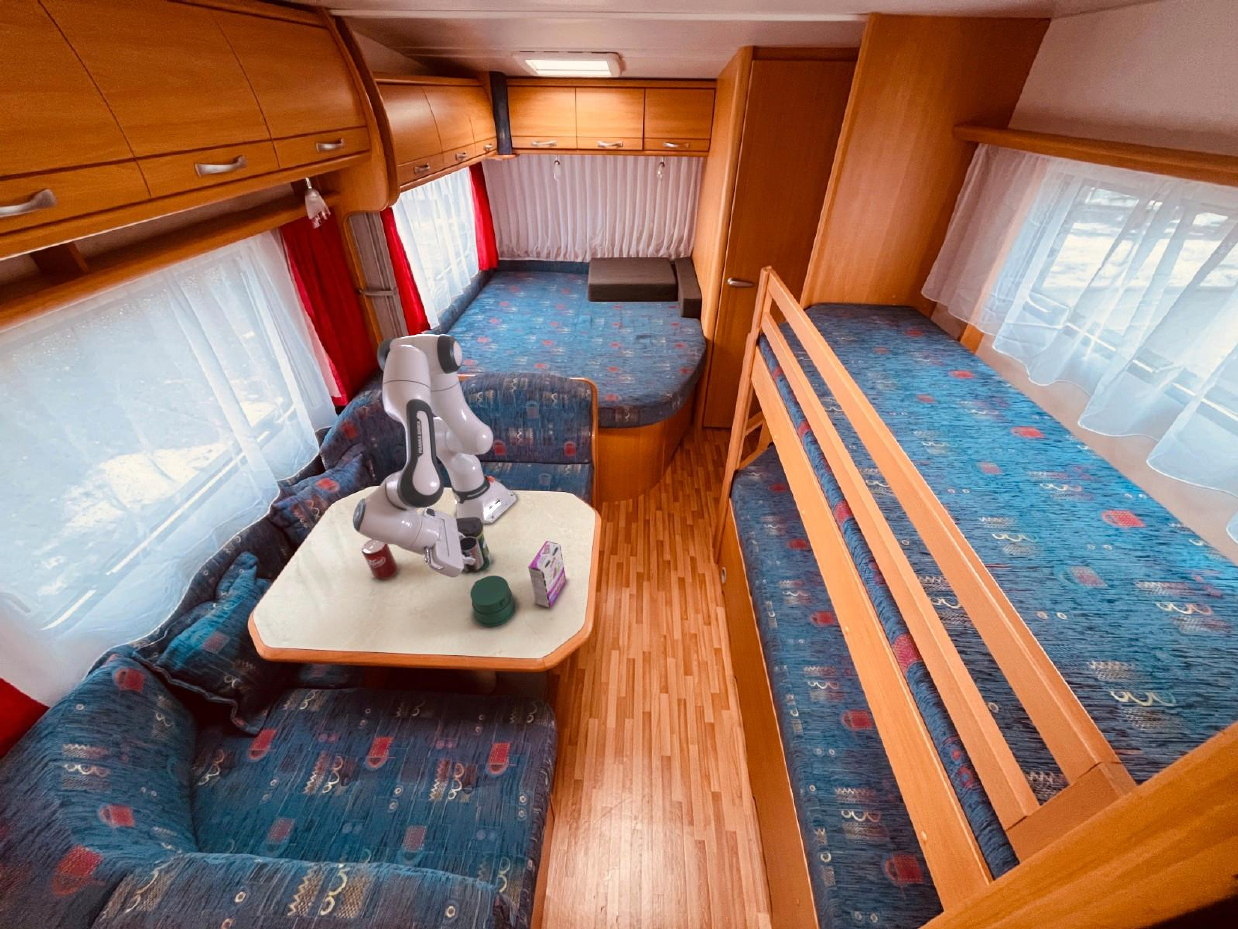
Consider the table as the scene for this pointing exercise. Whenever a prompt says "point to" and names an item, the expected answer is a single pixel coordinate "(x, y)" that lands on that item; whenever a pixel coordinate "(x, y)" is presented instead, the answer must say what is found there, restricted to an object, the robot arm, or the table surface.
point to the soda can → (379, 559)
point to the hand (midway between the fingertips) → (472, 552)
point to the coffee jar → (475, 529)
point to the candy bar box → (547, 574)
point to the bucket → (492, 601)
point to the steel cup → (471, 552)
